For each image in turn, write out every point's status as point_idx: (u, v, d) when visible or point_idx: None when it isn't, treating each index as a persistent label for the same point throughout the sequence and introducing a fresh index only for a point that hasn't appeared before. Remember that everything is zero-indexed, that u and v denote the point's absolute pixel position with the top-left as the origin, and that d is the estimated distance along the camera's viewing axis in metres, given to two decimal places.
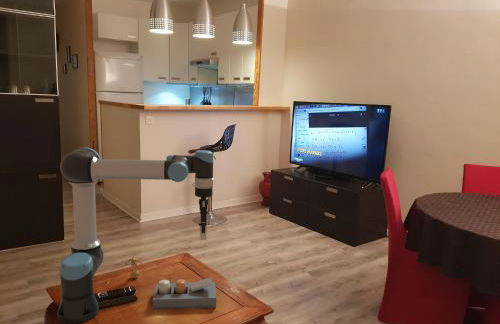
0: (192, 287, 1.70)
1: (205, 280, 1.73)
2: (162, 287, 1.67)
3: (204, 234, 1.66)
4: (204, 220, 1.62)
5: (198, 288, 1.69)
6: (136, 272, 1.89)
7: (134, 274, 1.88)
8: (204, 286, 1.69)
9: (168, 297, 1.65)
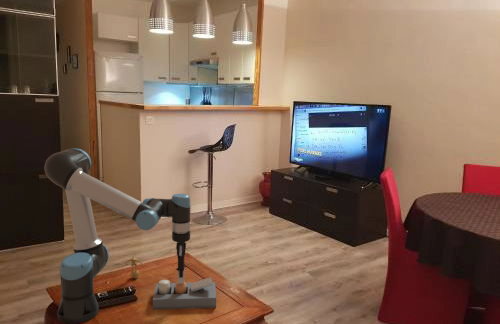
0: (192, 287, 1.70)
1: (205, 280, 1.73)
2: (162, 287, 1.67)
3: (182, 278, 1.69)
4: (181, 267, 1.65)
5: (198, 288, 1.69)
6: (136, 272, 1.89)
7: (134, 274, 1.88)
8: (204, 286, 1.69)
9: (168, 297, 1.65)
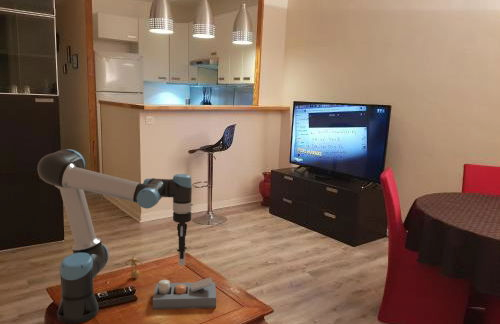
0: (192, 287, 1.70)
1: (205, 280, 1.73)
2: (162, 287, 1.67)
3: (183, 259, 1.68)
4: (182, 248, 1.64)
5: (198, 288, 1.69)
6: (136, 272, 1.89)
7: (134, 274, 1.88)
8: (204, 286, 1.69)
9: (168, 297, 1.65)
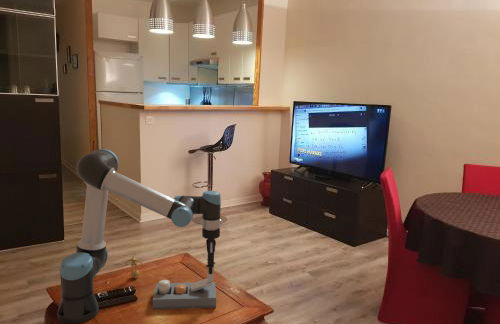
0: (192, 287, 1.70)
1: (205, 280, 1.73)
2: (162, 287, 1.67)
3: (211, 275, 1.71)
4: (211, 263, 1.66)
5: (198, 288, 1.69)
6: (136, 272, 1.89)
7: (134, 274, 1.88)
8: (204, 286, 1.69)
9: (168, 297, 1.65)
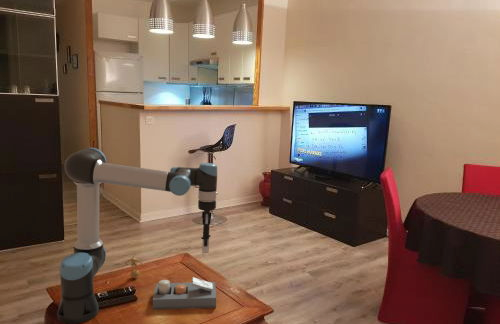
0: (194, 282, 1.70)
1: (207, 283, 1.73)
2: (162, 287, 1.67)
3: (206, 247, 1.71)
4: (207, 235, 1.66)
5: (199, 286, 1.69)
6: (136, 272, 1.89)
7: (134, 274, 1.88)
8: (205, 288, 1.69)
9: (168, 297, 1.65)
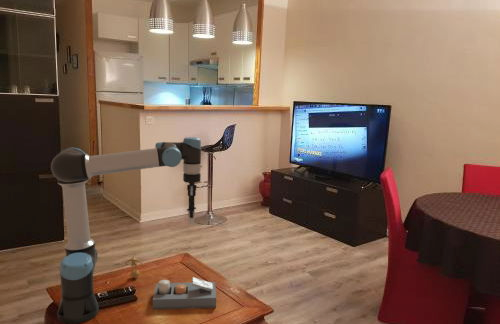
0: (194, 282, 1.70)
1: (207, 283, 1.73)
2: (162, 287, 1.67)
3: (192, 219, 1.78)
4: (192, 207, 1.73)
5: (199, 286, 1.69)
6: (136, 272, 1.89)
7: (134, 274, 1.88)
8: (205, 288, 1.69)
9: (168, 297, 1.65)
